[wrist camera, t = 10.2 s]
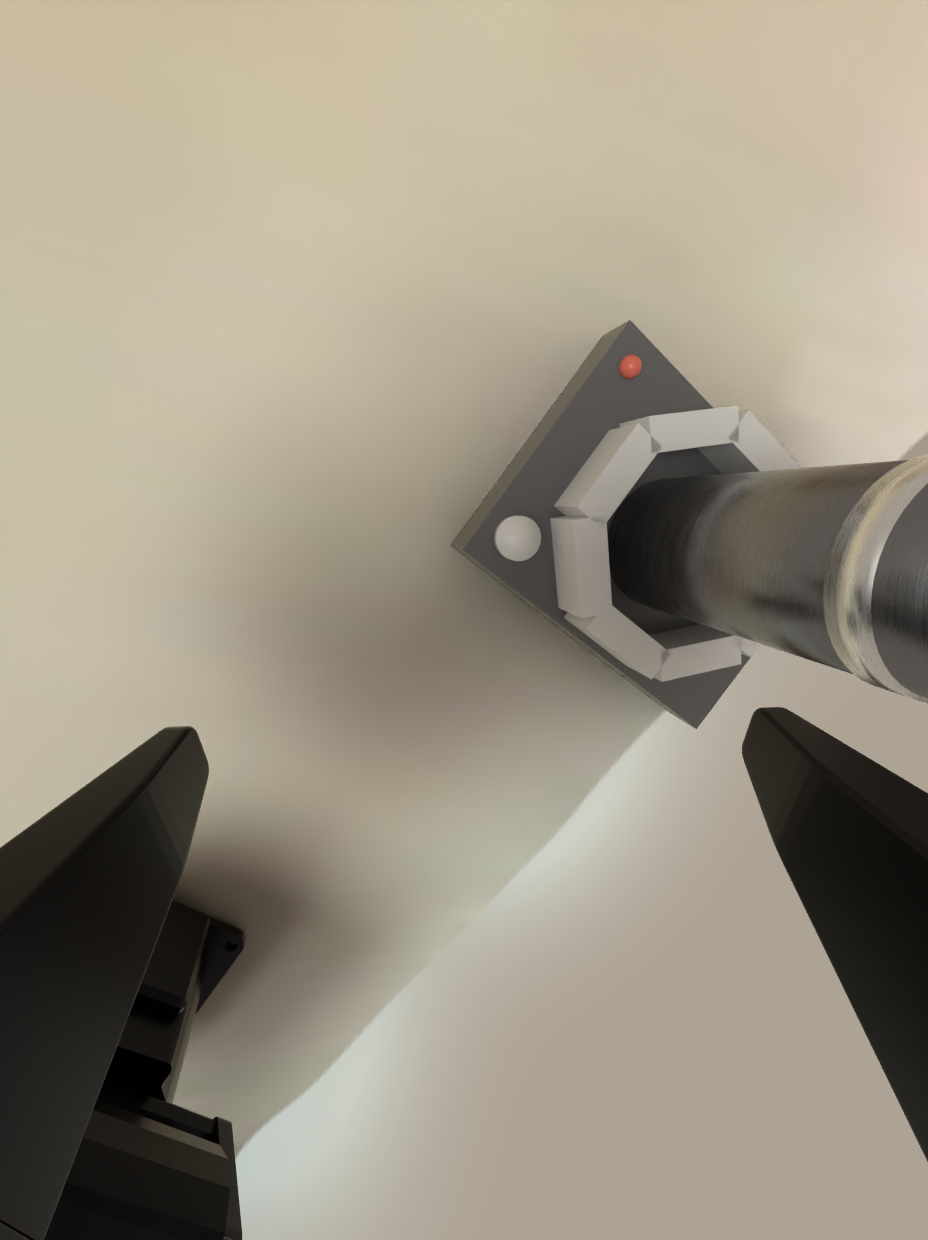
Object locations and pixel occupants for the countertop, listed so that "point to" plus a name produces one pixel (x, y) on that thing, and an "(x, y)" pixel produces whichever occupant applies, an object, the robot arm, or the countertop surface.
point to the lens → (791, 562)
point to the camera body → (587, 501)
